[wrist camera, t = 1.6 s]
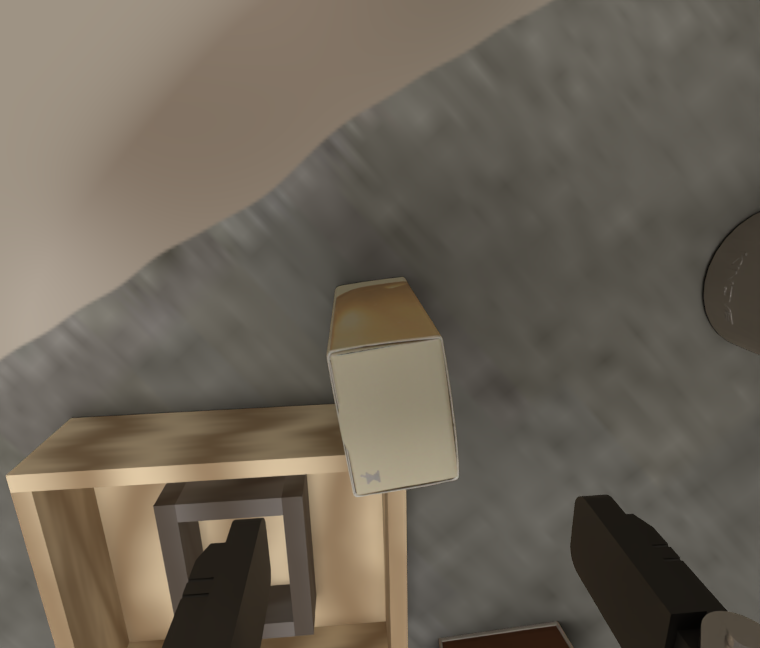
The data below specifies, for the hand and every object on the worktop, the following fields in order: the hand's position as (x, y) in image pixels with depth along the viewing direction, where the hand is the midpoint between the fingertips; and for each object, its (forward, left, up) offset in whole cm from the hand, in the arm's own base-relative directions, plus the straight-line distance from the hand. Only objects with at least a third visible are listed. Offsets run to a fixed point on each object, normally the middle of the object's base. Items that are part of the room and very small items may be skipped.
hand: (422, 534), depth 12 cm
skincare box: (0, 0, -18) cm, 18 cm away
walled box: (+9, +14, -18) cm, 24 cm away
